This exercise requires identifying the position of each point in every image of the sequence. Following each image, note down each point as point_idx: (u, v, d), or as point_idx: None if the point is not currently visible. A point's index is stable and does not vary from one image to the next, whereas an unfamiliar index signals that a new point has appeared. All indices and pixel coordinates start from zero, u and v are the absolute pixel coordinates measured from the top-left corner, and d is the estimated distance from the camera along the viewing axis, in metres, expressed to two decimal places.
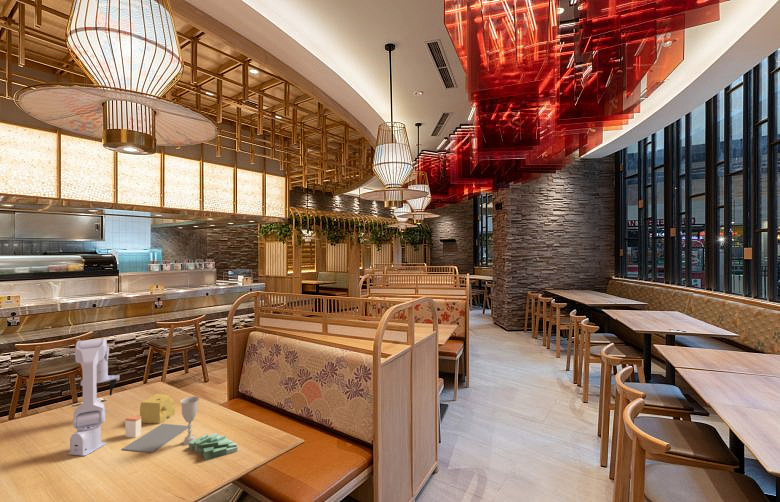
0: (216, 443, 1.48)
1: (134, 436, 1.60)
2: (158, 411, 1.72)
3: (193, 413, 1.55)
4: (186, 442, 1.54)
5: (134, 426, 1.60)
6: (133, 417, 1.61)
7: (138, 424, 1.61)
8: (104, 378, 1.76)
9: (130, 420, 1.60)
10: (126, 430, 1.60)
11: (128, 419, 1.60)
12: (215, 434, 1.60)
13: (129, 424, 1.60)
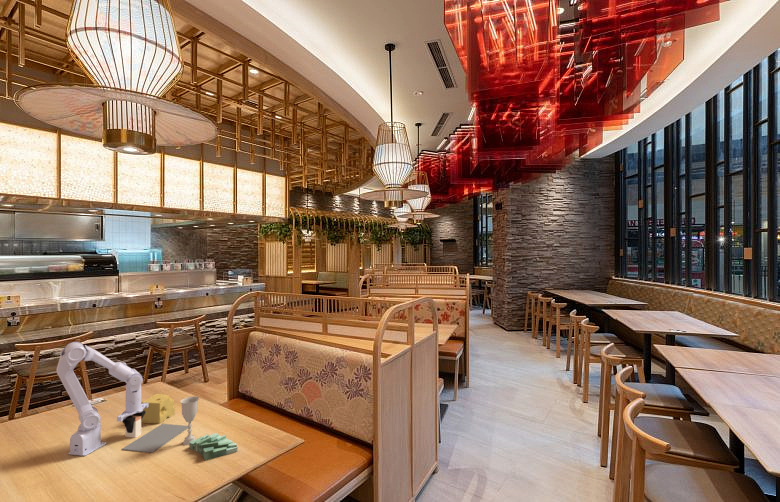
0: (216, 443, 1.48)
1: (134, 436, 1.60)
2: (158, 411, 1.72)
3: (193, 413, 1.55)
4: (186, 442, 1.54)
5: (134, 426, 1.60)
6: None
7: (138, 424, 1.61)
8: (125, 409, 1.60)
9: None
10: (126, 430, 1.60)
11: None
12: (216, 434, 1.60)
13: None
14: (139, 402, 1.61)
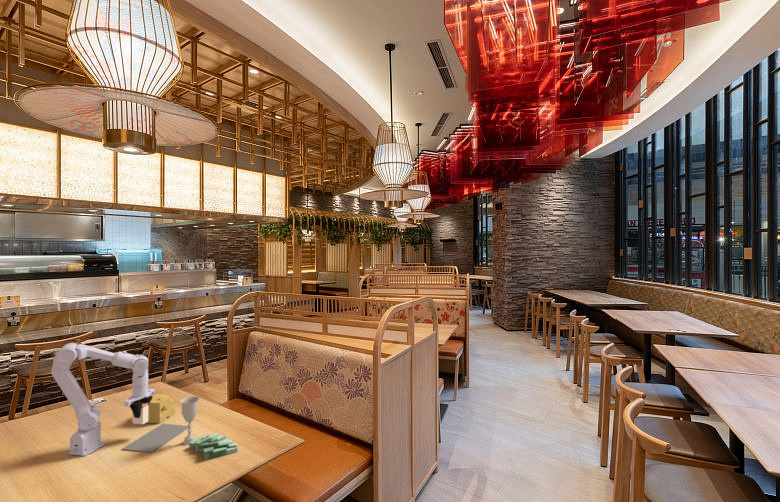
0: (216, 443, 1.48)
1: (141, 422, 1.59)
2: (158, 411, 1.72)
3: (193, 413, 1.55)
4: (186, 442, 1.54)
5: (141, 413, 1.59)
6: None
7: (145, 411, 1.60)
8: (132, 394, 1.59)
9: None
10: (133, 416, 1.59)
11: None
12: (216, 434, 1.60)
13: None
14: (146, 387, 1.60)
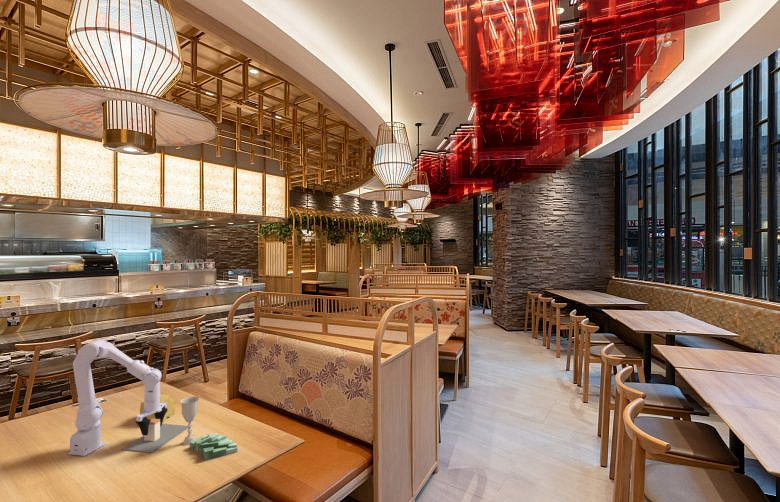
0: (216, 443, 1.48)
1: (153, 439, 1.56)
2: None
3: (193, 413, 1.55)
4: (186, 442, 1.54)
5: (153, 429, 1.56)
6: (152, 420, 1.57)
7: (157, 428, 1.58)
8: (144, 408, 1.56)
9: (149, 423, 1.56)
10: None
11: None
12: (216, 434, 1.60)
13: None
14: (158, 401, 1.58)
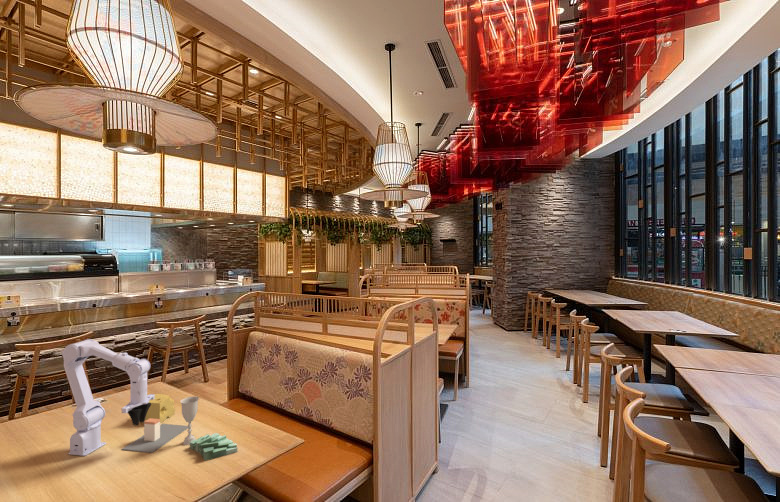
0: (216, 443, 1.48)
1: (153, 439, 1.56)
2: (158, 411, 1.72)
3: (193, 413, 1.55)
4: (186, 442, 1.54)
5: (153, 429, 1.56)
6: (152, 420, 1.57)
7: (157, 428, 1.58)
8: (130, 400, 1.50)
9: (149, 423, 1.56)
10: (144, 433, 1.57)
11: (147, 422, 1.57)
12: (216, 434, 1.60)
13: (148, 427, 1.57)
14: (145, 393, 1.51)
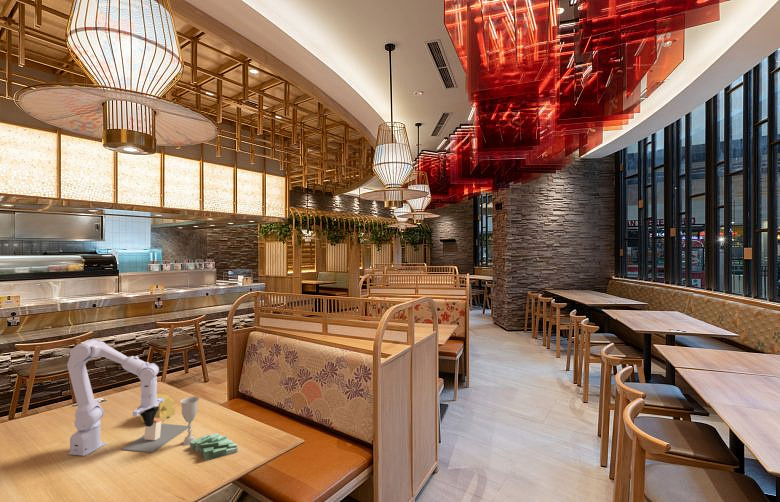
0: (216, 443, 1.48)
1: (153, 438, 1.56)
2: (158, 411, 1.72)
3: (193, 413, 1.55)
4: (186, 442, 1.54)
5: (154, 428, 1.57)
6: None
7: (158, 427, 1.58)
8: (141, 403, 1.55)
9: None
10: (145, 432, 1.57)
11: None
12: (217, 434, 1.60)
13: None
14: (155, 396, 1.56)
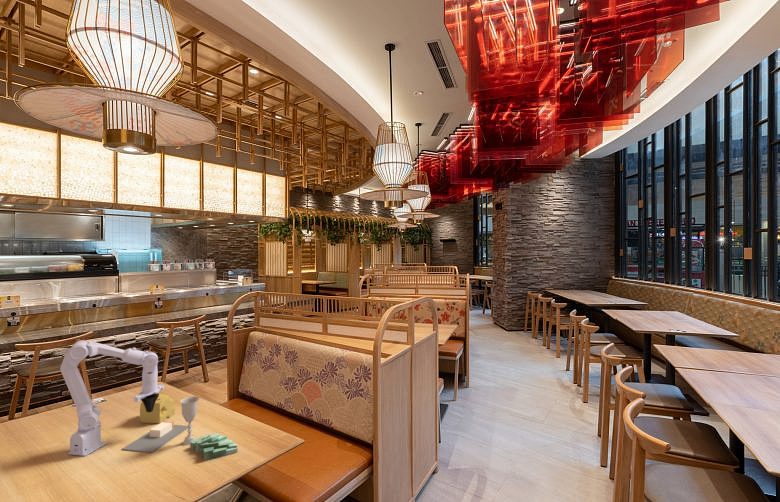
0: (216, 443, 1.48)
1: (159, 429, 1.60)
2: (158, 411, 1.72)
3: (193, 413, 1.55)
4: (186, 442, 1.54)
5: (167, 425, 1.64)
6: None
7: (168, 428, 1.64)
8: (142, 390, 1.61)
9: (167, 422, 1.67)
10: (155, 426, 1.63)
11: (165, 422, 1.67)
12: (217, 434, 1.60)
13: (163, 424, 1.65)
14: (155, 383, 1.62)
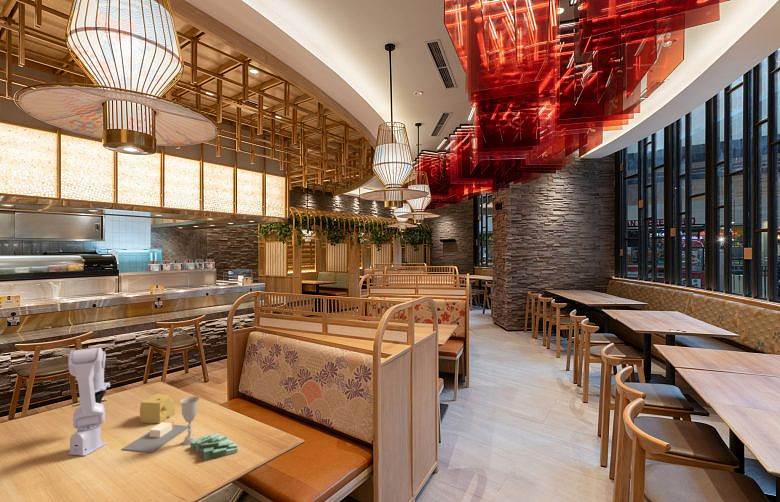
0: (216, 444, 1.48)
1: (159, 429, 1.60)
2: (158, 411, 1.72)
3: (193, 413, 1.55)
4: (186, 442, 1.54)
5: (167, 425, 1.64)
6: None
7: (168, 428, 1.64)
8: None
9: (167, 422, 1.67)
10: (155, 426, 1.63)
11: (165, 422, 1.67)
12: (217, 434, 1.60)
13: (163, 424, 1.65)
14: (102, 380, 1.65)
